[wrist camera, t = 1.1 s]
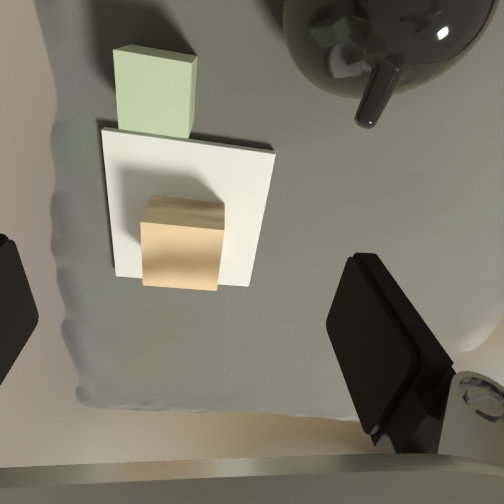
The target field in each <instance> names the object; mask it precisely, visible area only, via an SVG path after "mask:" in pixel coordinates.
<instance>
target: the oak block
mask: <svg viewBox="0 0 504 504" xmlns="http://www.w3.org/2000/svg"><path fill="white" fill-rule="evenodd" d="M140 227H141V252H142V276H143V285H147V286H160V287H174V288H187V289H200V290H213V291H217V284H218V277H219V269H220V261H221V254H222V246H223V239H224V231H225V203H216V202H207V201H199V200H190V199H181V198H172V197H164V196H155V195H151V197H150V200H149V202H148V205H147V207H146V209H145V212H144V214H143V217H142V219H141V221H140Z"/></svg>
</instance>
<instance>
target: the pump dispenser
mask: <svg viewBox="0 0 504 504" xmlns="http://www.w3.org/2000/svg"><path fill="white" fill-rule="evenodd" d="M499 2H500V0H283V9H282V20H283V31H284V36H285V41H286V44H287V48H288V50H289V53H290V55H291V58H292V60H293V61H294V63H295V65H296V66H297V68H298V69H299V71H300V72H301V73H302V74H303V75H304V77H305V78H306V79H308V80H309V81H310V82H311V83H312V84H314V85H315V86H316V87H318V88H320V89H321V90H323V91H325V92H328V93H330V94H333V95H337V96H341V97H346V98H353V99H361V101H360V104H359V107H358V109H357V112H356V115H355V118H354V119H355V122H356V124H357V125H358V126H360V127H362V128H365V129H370V128H373V127H374V126H375V125H376V123H377V121H378V120H379V118H380V116H381V114H382V112H383V111H384V109H385V107H386V105H387V103H388V102H389V100H390V98H391V96H393V95H396V94H400V93H403V92H406V91H409V90H412V89H415V88H417V87H420V86H422V85H424V84H426V83H428V82H430V81H432V80H434V79H436V78H438V77H439V76H441V75H442V74H444V73H446V72H447V71H448V70H450V69H451V68H452V67H454V66H455V65H456V64H457V63H459V62H460V61H461V60H462V59H463V58H464V57H465V56H466V55H467V54H468V53H469V52H470V51H471V50H472V49H473V48H474V46H475V45H476V44H477V43H478V41H479V40H480V39H481V37H482V36H483V35H484V33H485V32H486V30H487V28H488V27H489V25H490V23H491V21H492V19H493V17H494V15H495V13H496V10H497V7H498V5H499Z"/></svg>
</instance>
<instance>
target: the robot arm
mask: <svg viewBox="0 0 504 504" xmlns="http://www.w3.org/2000/svg"><path fill="white" fill-rule="evenodd" d="M38 318H39V315H38V311H37V308H36V305H35V301H34V298H33V296H32V292H31V289H30V286H29V283H28V280H27V277H26V274H25V271H24V268H23V265H22V262H21V259H20V256H19V253H18V250H17V247H16V244H15V242H14V241H13V240H9V239H8V237H7V236H6V235H4V234H0V385H1V384H2V382H3V380H4V379H5V377H6V375H7V374H8V372H9V370H10V369H11V367H12V365H13V364H14V362H15V360H16V359H17V357H18V355H19V354H20V352H21V350H22V349H23V347H24V346H25V344H26V342H27V341H28V339H29V337H30V336H31V334H32V332H33V331H34V329H35V327H36V325H37V323H38ZM326 329H327V332H328V335H329V338H330V341H331V343H332V346H333V349H334V351H335V354H336V357H337V360H338V362H339V365H340V368H341V371H342V373H343V376H344V379H345V382H346V384H347V387H348V390H349V392H350V395H351V398H352V401H353V403H354V406H355V409H356V412H357V414H358V417H359V420H360V422H361V425H362V428H363V430H364V432H365V433H366V434H370V436H371V438H372V441H373V444H374V446H375V447H386V446H387V447H389V446H393V447H394V450H395V452H396V454H348V455H347V454H346V455H316V456H289V457H259V458H232V459H231V458H229V459H203V460H177V461H153V462H152V461H151V462H126V463H103V464H78V465H55V466H32V467H9V468H0V504H504V387H502V386H501V385H500V384H498V383H497V382H495V381H493V380H492V379H490V378H489V377H486V376H484V375H481V374H479V373H475V372H470V371H464V372H459V373H457V374H456V372H455V371H454V369H453V368H452V365H453V361H452V360H451V359H450V357H449V356H448V354H447V353H446V351H445V350H444V349H443V347H442V346H441V344H440V343H439V342H438V340H437V339H436V337H435V336H434V335H433V333H432V332H431V330H430V329H429V328H428V326H427V325H426V323H425V322H424V321H423V319H422V318H421V316H420V315H419V313H418V312H417V311H416V309H415V308H414V306H413V305H412V304H411V302H410V301H409V299H408V298H407V297H406V295H405V294H404V292H403V291H402V290H401V288H400V287H399V285H398V284H397V282H396V281H395V280H394V278H393V277H392V275H391V274H390V273H389V271H388V270H387V268H386V267H385V266H384V264H383V263H382V261H381V260H380V259H379V257H378V256H377V255H376V254H374V253H355V254H354V255H353V257H349V258H348V260H347V262H346V265H345V268H344V271H343V273H342V276H341V279H340V282H339V285H338V288H337V291H336V294H335V297H334V300H333V302H332V305H331V308H330V311H329V314H328V317H327V320H326Z"/></svg>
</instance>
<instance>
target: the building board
mask: <svg viewBox="0 0 504 504" xmlns="http://www.w3.org/2000/svg"><path fill="white" fill-rule="evenodd" d="M101 132H102V141H103V151H104V161H105V171H106V181H107V191H108V201H109V211H110V220H111V230H112V240H113V250H114V260H115V270H116V276H121V277H134V278H143V276H142V252H141V227H140V221H141V219H142V217H143V214H144V212H145V209H146V207H147V205H148V202H149V200H150V197H151V195H155V196H164V197H172V198H181V199H190V200H199V201H207V202H216V203H225V231H224V239H223V246H222V254H221V261H220V269H219V277H218V284H223V285H236V286H249V283H250V278H251V273H252V268H253V263H254V258H255V253H256V248H257V243H258V239H259V234H260V229H261V224H262V219H263V214H264V209H265V204H266V199H267V195H268V190H269V185H270V180H271V175H272V170H273V165H274V160H275V155H276V154H275V151H273V150H266V149H259V148H252V147H245V146H238V145H231V144H224V143H216V142H209V141H202V140H195V139H186V138H179V137H172V136H165V135H158V134H150V133H143V132H136V131H129V130H122V129H117V128H109V127H104V128H103V129H102V130H101Z"/></svg>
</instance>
